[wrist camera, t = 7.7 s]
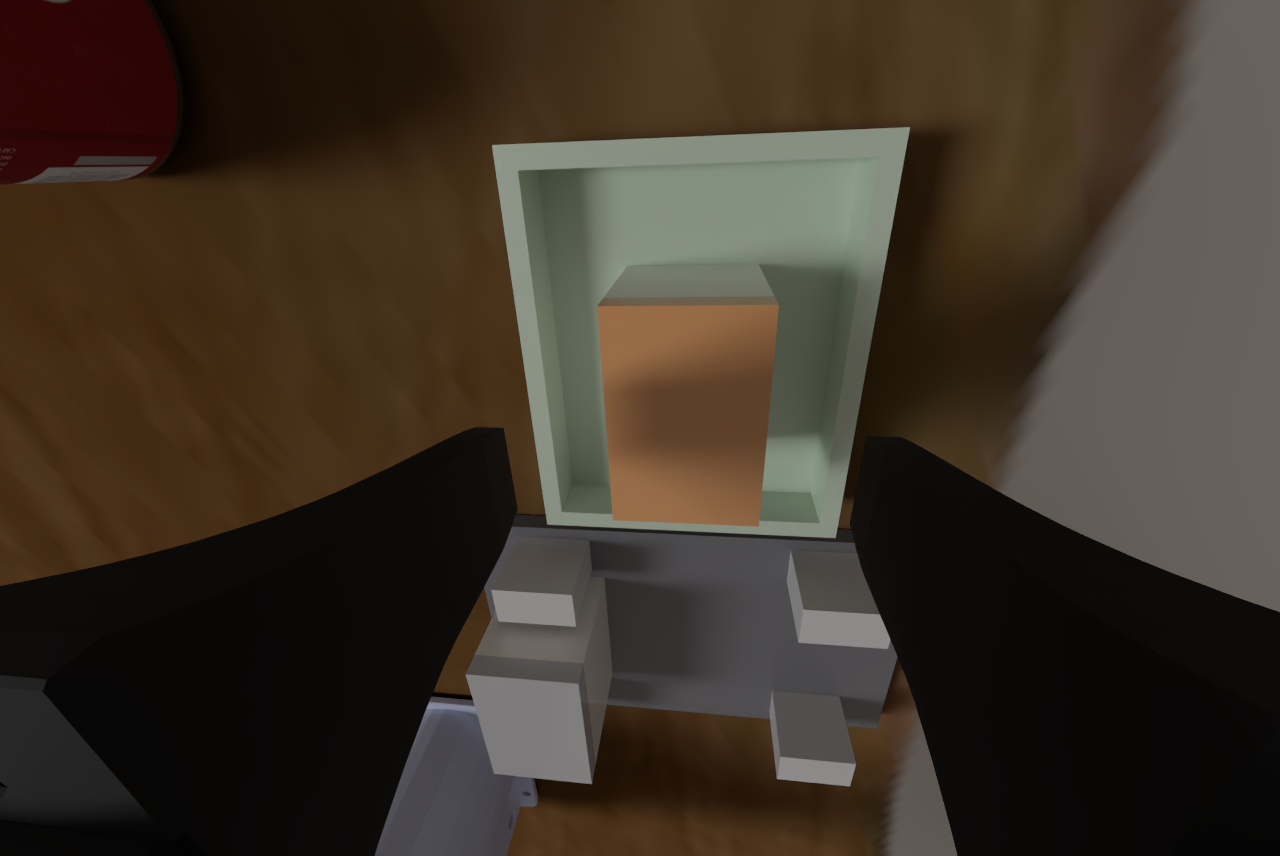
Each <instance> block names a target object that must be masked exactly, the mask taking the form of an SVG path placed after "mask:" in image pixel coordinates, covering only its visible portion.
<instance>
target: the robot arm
mask: <svg viewBox="0 0 1280 856" xmlns="http://www.w3.org/2000/svg"><path fill="white" fill-rule="evenodd" d="M516 512H517V503H516V497H515V491H514V486H513V480H512V474H511V468H510V463H509V457H508V451H507V445H506V440H505V434H504V428H484V427H475V428H472V429H469V430H466V431H464V432H461V433H459V434H457V435H455V436H452V437H450V438H448V439H446V440H444V441H442V442H440V443H438V444H436V445H434V446H432V447H430V448H428V449H426V450H424V451H422V452H420V453H418V454H416V455H414V456H412V457H410V458H408V459H406V460H404V461H402V462H400V463H398V464H396V465H394V466H392V467H390V468H388V469H386V470H384V471H381V472H379V473H377V474H375V475H373V476H371V477H368V478H366V479H364V480H362V481H360V482H358V483H355V484H353V485H351V486H349V487H347V488H345V489H343V490H340V491H338V492H336V493H333V494H331V495H329V496H326V497H324V498H321V499H319V500H316V501H314V502H311V503H309V504H306V505H304V506H301V507H298V508H296V509H293V510H290V511H288V512H285V513H282V514H280V515H277V516H274V517H271V518H268V519H265V520H262V521H259V522H256V523H253V524H250V525H247V526H243V527H240V528H237V529H234V530H231V531H227V532H224V533H221V534H218V535H215V536H212V537H208V538H205V539H202V540H199V541H195V542H192V543H188V544H185V545H181V546H177V547H173V548H170V549H166V550H162V551H158V552H155V553H151V554H147V555H143V556H139V557H135V558H130V559H126V560H122V561H118V562H114V563H110V564H106V565H101V566H97V567H92V568H88V569H83V570H79V571H74V572H69V573H64V574H59V575H54V576H49V577H44V578H39V579H34V580H29V581H24V582H19V583H14V584H9V585H4V586H0V856H506V855H507V851H508V848H509V844H510V841H511V837H512V834H513V831H514V827H515V824H516V820H517V817H518V813H519V810H520V806H525V807H534V806H536V805H537V802H538V794H537V789H536V785H535V781H534V778H529V777H520V776H510V775H501V774H494V772H493V768H492V765H491V761H490V758H489V754H488V751H487V747H486V744H485V740H484V737H483V733H482V730H481V726H480V723H479V719H478V716H477V712H476V709H475V705H474V702H473V700H465V699H453V698H442V697H431V696H432V694H433V691H434V689H435V686H436V684H437V681H438V679H439V676H440V674H441V671H442V669H443V666H444V664H445V662H446V660H447V658H448V656H449V653H450V651H451V649H452V647H453V645H454V643H455V641H456V639H457V637H458V635H459V633H460V632H461V630H462V628H463V626H464V624H465V622H466V620H467V618H468V616H469V615H470V613H471V611H472V609H473V607H474V605H475V603H476V601H477V599H478V598H479V596H480V594H481V592H482V590H483V588H484V586H485V584H486V583H487V581H488V579H489V577H490V575H491V573H492V571H493V569H494V567H495V565H496V563H497V561H498V559H499V557H500V555H501V553H502V551H503V549H504V547H505V544H506V541H507V539H508V536H509V533H510V531H511V527H512V524H513V521H514V518H515V515H516ZM850 526H851V530H852V534H853V539H854V543H855V547H856V551H857V555H858V558H859V562H860V566H861V569H862V572H863V574H864V577H865V579H866V582H867V584H868V587H869V589H870V592H871V594H872V597H873V599H874V601H875V604H876V606H877V609H878V611H879V614H880V616H881V618H882V621H883V623H884V626H885V628H886V630H887V633H888V635H889V638H890V640H891V642H892V645H893V647H894V650H895V652H896V654H897V657H898V659H899V662H900V664H901V666H902V669H903V671H904V674H905V676H906V679H907V682H908V684H909V687H910V690H911V693H912V695H913V698H914V701H915V704H916V708H917V711H918V714H919V718H920V721H921V724H922V728H923V731H924V734H925V738H926V741H927V745H928V748H929V751H930V755H931V758H932V761H933V765H934V769H935V772H936V776H937V779H938V783H939V787H940V791H941V794H942V798H943V801H944V805H945V809H946V813H947V816H948V820H949V824H950V827H951V831H952V835H953V839H954V843H955V847H956V851H957V855H958V856H1280V612H1278V611H1275V610H1272V609H1268V608H1266V607H1263V606H1260V605H1257V604H1254V603H1251V602H1248V601H1245V600H1242V599H1240V598H1237V597H1234V596H1232V595H1229V594H1226V593H1223V592H1221V591H1218V590H1216V589H1213V588H1210V587H1208V586H1205V585H1202V584H1200V583H1197V582H1194V581H1192V580H1189V579H1186V578H1184V577H1181V576H1178V575H1176V574H1173V573H1170V572H1168V571H1166V570H1163V569H1161V568H1158V567H1156V566H1153V565H1151V564H1148V563H1146V562H1143V561H1141V560H1139V559H1136V558H1134V557H1132V556H1129V555H1127V554H1125V553H1122V552H1120V551H1118V550H1116V549H1113V548H1111V547H1109V546H1106V545H1104V544H1102V543H1100V542H1097V541H1095V540H1093V539H1091V538H1089V537H1086V536H1084V535H1082V534H1080V533H1078V532H1076V531H1073V530H1071V529H1069V528H1067V527H1065V526H1063V525H1061V524H1059V523H1057V522H1055V521H1053V520H1051V519H1049V518H1047V517H1045V516H1043V515H1041V514H1039V513H1038V512H1036V511H1033V510H1032V509H1030V508H1028V507H1026V506H1024V505H1022V504H1020V503H1018V502H1016V501H1015V500H1013V499H1011V498H1009V497H1007V496H1005V495H1004V494H1002V493H1000V492H998V491H996V490H995V489H993V488H991V487H989V486H988V485H986V484H984V483H982V482H981V481H979V480H977V479H975V478H974V477H972V476H970V475H968V474H967V473H965V472H963V471H962V470H960V469H958V468H956V467H955V466H953V465H951V464H950V463H948V462H946V461H944V460H943V459H941V458H939V457H938V456H936V455H934V454H932V453H931V452H929V451H927V450H925V449H923V448H922V447H920V446H918V445H916V444H914V443H912V442H910V441H908V440H906V439H903V438H901V437H872V436H867V437H866V442H865V447H864V452H863V457H862V463H861V468H860V473H859V478H858V483H857V489H856V494H855V499H854V504H853V510H852V515H851V520H850Z"/></svg>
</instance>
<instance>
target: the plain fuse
mask: <svg viewBox="0 0 1280 856" xmlns="http://www.w3.org/2000/svg"><path fill="white" fill-rule="evenodd" d="M612 672H613V671H612V660H611V648H610V637H609V625H608V614H607V602H606V591H605V579H604V578H602V577H590V579H589V583H588V586H587V590H586V593H585V597H584V600H583V604H582V608H581V611H580V615H579V618H578V622H577V625H576V627H570V626H556V625H542V624H528V623H514V622H499V621H498V618H497V613H496V611H495V613H494V615H493V617H492V619H491V621H490V624H489V626H488V628H487V630H486V632H485V634H484V636H483V638H482V641H481V643H480V645H479V647H478V649H477V651H476V653H475V656H474V658H473V660H472V662H471V664H470V666H469V668H468V670H467V673H466V677H467V681H468V684H469V688H470V691H471V695H472V698H473V702H474V705H475V709H476V712H477V716H478V719H479V723H480V726H481V730H482V733H483V737H484V740H485V744H486V747H487V751H488V754H489V758H490V761H491V765H492V768H493V772H494V774H501V775H510V776H520V777H529V778H538V779H548V780H557V781H566V782H576V783H585V784H592V781H593V776H594V770H595V765H596V759H597V754H598V748H599V743H600V737H601V732H602V727H603V721H604V716H605V710H606V705H607V699H608V694H609V689H610V683H611V678H612Z"/></svg>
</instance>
